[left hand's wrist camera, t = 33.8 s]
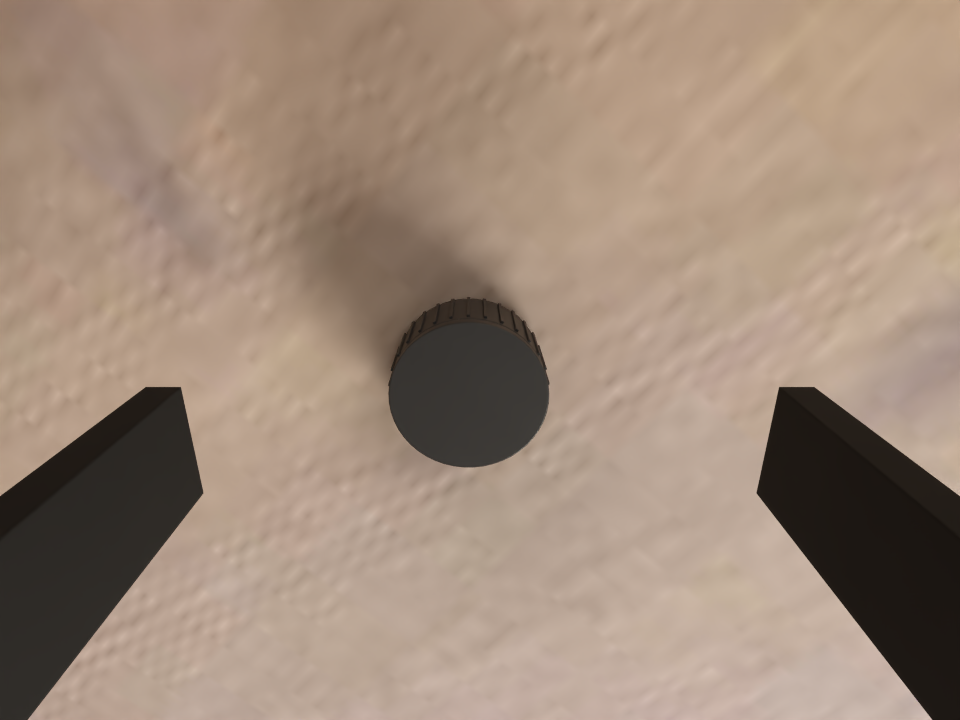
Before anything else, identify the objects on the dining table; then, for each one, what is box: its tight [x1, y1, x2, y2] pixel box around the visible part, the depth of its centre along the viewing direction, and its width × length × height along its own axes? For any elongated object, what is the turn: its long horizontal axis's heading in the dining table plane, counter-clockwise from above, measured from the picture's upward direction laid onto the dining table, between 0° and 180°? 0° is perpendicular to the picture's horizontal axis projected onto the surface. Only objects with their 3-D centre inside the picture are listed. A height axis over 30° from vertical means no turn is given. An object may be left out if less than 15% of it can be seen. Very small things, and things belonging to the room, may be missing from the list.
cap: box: [388, 297, 549, 467], centre depth 16 cm, size 4×4×2 cm
